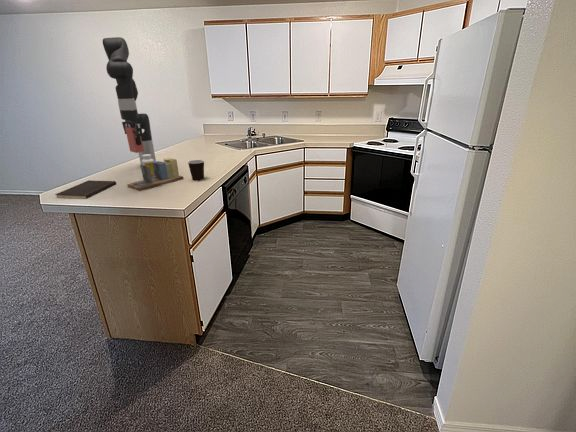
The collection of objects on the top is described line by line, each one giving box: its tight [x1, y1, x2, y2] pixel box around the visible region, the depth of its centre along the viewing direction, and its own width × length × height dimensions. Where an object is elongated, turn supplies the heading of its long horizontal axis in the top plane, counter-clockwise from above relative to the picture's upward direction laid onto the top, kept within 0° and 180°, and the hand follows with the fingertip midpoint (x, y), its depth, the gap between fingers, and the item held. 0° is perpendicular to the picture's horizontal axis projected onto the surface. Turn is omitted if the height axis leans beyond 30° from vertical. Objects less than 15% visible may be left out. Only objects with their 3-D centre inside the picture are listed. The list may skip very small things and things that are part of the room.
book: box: [125, 127, 144, 154], centre depth 152 cm, size 6×4×12 cm, turn 53°
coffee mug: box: [187, 159, 205, 182], centre depth 174 cm, size 12×9×10 cm
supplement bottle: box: [142, 154, 155, 178], centre depth 177 cm, size 7×7×13 cm
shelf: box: [126, 157, 184, 192], centre depth 166 cm, size 12×26×11 cm, turn 143°
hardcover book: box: [54, 179, 117, 199], centre depth 157 cm, size 16×23×2 cm
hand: (135, 144), depth 153 cm, fingers closed on book, 6 cm apart
